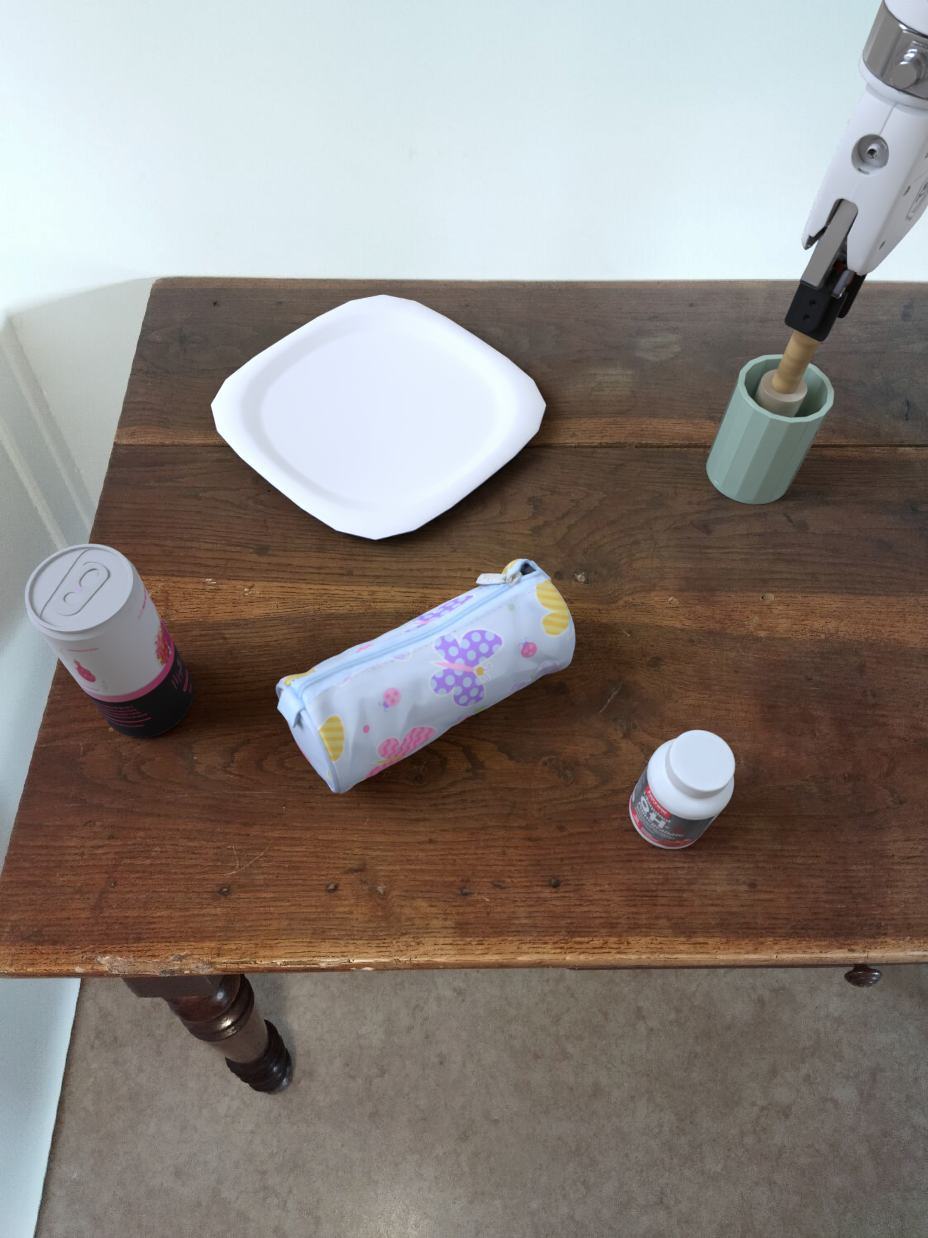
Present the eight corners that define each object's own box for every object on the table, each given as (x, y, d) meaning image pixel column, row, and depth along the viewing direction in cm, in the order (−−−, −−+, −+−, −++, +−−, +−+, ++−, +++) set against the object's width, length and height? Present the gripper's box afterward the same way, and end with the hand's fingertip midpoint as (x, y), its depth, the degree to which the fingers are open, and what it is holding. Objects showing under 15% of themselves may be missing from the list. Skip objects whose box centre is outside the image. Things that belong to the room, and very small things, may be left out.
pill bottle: (617, 831, 61) (645, 779, 52) (641, 764, 63) (673, 704, 55) (693, 864, 59) (734, 816, 51) (714, 795, 62) (758, 738, 54)
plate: (576, 416, 81) (579, 402, 79) (375, 580, 71) (374, 568, 69) (384, 286, 89) (383, 272, 88) (181, 416, 79) (176, 402, 78)
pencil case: (513, 596, 70) (523, 523, 62) (579, 678, 67) (599, 612, 59) (276, 725, 64) (253, 662, 56) (334, 824, 60) (318, 771, 52)
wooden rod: (789, 436, 75) (881, 249, 59) (768, 460, 73) (857, 276, 58) (752, 415, 76) (832, 227, 60) (731, 439, 74) (808, 253, 59)
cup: (805, 467, 78) (850, 383, 70) (764, 518, 75) (806, 436, 67) (732, 427, 81) (767, 341, 72) (690, 475, 77) (721, 390, 69)
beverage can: (213, 682, 66) (159, 567, 53) (158, 755, 63) (86, 651, 50) (142, 646, 67) (72, 525, 54) (85, 715, 64) (-3, 605, 51)
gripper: (944, 137, 44) (809, 406, 59) (1057, 15, 50) (909, 286, 66) (808, 82, 46) (713, 355, 62) (934, -27, 53) (819, 244, 68)
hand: (815, 318), depth 64 cm, fingers closed on wooden rod, 2 cm apart
